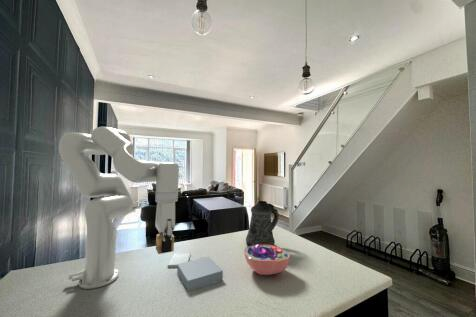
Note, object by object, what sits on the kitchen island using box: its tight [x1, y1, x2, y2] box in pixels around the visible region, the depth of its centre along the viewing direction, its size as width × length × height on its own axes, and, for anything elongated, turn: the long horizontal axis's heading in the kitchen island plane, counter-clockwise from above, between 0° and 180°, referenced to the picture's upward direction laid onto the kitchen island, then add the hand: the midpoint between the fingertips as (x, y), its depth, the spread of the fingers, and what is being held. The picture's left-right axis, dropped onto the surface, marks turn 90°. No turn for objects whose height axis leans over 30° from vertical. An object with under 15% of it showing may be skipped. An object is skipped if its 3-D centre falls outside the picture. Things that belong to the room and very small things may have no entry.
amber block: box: [155, 233, 175, 255], centre depth 68 cm, size 5×5×5 cm
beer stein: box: [245, 200, 280, 247], centre depth 113 cm, size 16×19×25 cm
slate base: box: [176, 256, 224, 292], centre depth 79 cm, size 14×14×4 cm
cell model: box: [243, 244, 291, 276], centre depth 83 cm, size 17×20×11 cm
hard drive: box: [167, 252, 191, 269], centre depth 91 cm, size 2×8×12 cm
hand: (164, 248), depth 68 cm, fingers closed on amber block, 5 cm apart
